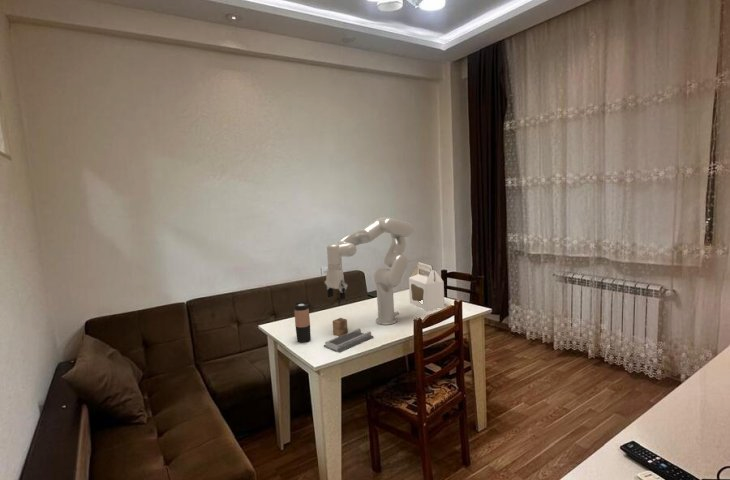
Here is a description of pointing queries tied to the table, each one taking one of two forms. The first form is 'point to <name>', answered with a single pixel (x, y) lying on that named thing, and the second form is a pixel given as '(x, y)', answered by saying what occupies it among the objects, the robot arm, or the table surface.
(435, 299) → the gable box
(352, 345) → the guide channel
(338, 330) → the walnut block
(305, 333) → the travel mug
